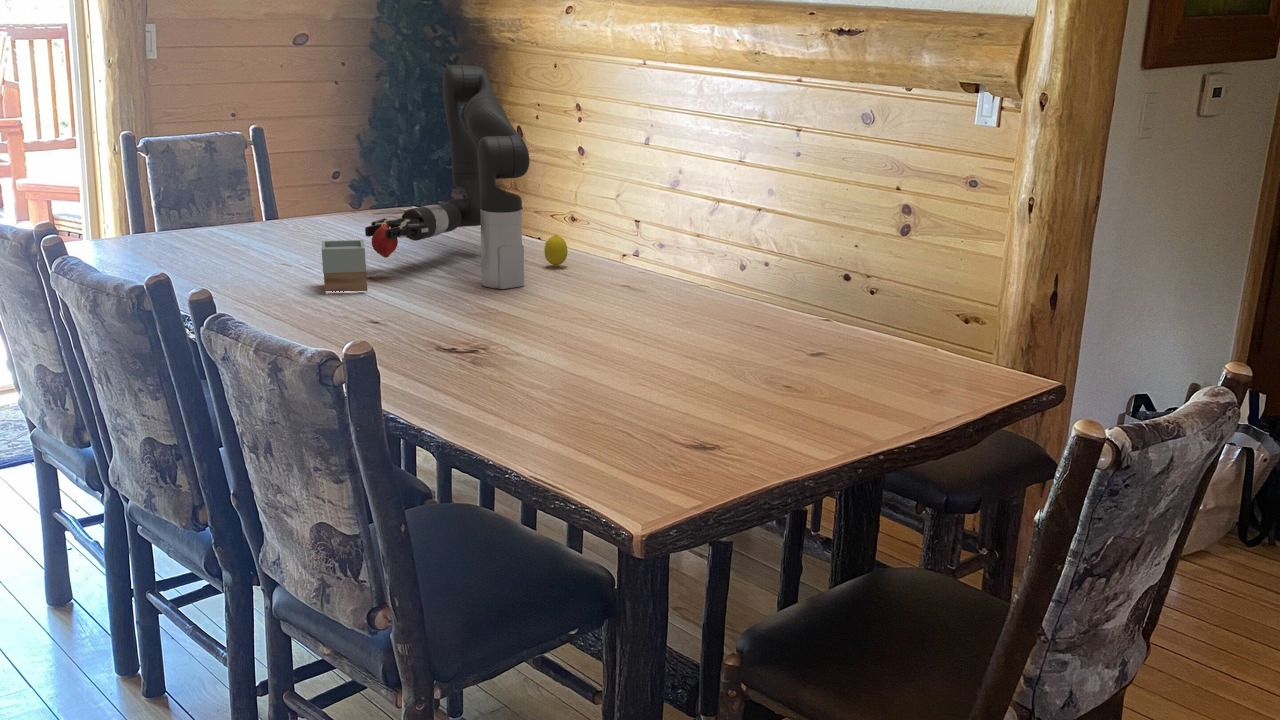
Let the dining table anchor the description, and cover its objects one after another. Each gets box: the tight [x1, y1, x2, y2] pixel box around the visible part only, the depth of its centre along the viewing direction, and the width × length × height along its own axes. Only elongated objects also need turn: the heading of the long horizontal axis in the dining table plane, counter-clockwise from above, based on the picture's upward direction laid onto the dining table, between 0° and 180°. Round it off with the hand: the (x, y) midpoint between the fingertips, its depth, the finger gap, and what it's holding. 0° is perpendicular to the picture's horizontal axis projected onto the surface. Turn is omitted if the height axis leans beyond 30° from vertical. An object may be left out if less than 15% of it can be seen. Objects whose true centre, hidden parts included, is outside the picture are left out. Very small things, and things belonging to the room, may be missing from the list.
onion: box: [371, 223, 399, 259], centre depth 265 cm, size 6×6×8 cm
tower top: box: [321, 239, 367, 274], centre depth 255 cm, size 9×9×5 cm
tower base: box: [323, 270, 368, 292], centre depth 257 cm, size 9×9×5 cm
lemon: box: [544, 234, 568, 268], centre depth 281 cm, size 6×6×8 cm
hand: (376, 233), depth 263 cm, fingers closed on onion, 5 cm apart
